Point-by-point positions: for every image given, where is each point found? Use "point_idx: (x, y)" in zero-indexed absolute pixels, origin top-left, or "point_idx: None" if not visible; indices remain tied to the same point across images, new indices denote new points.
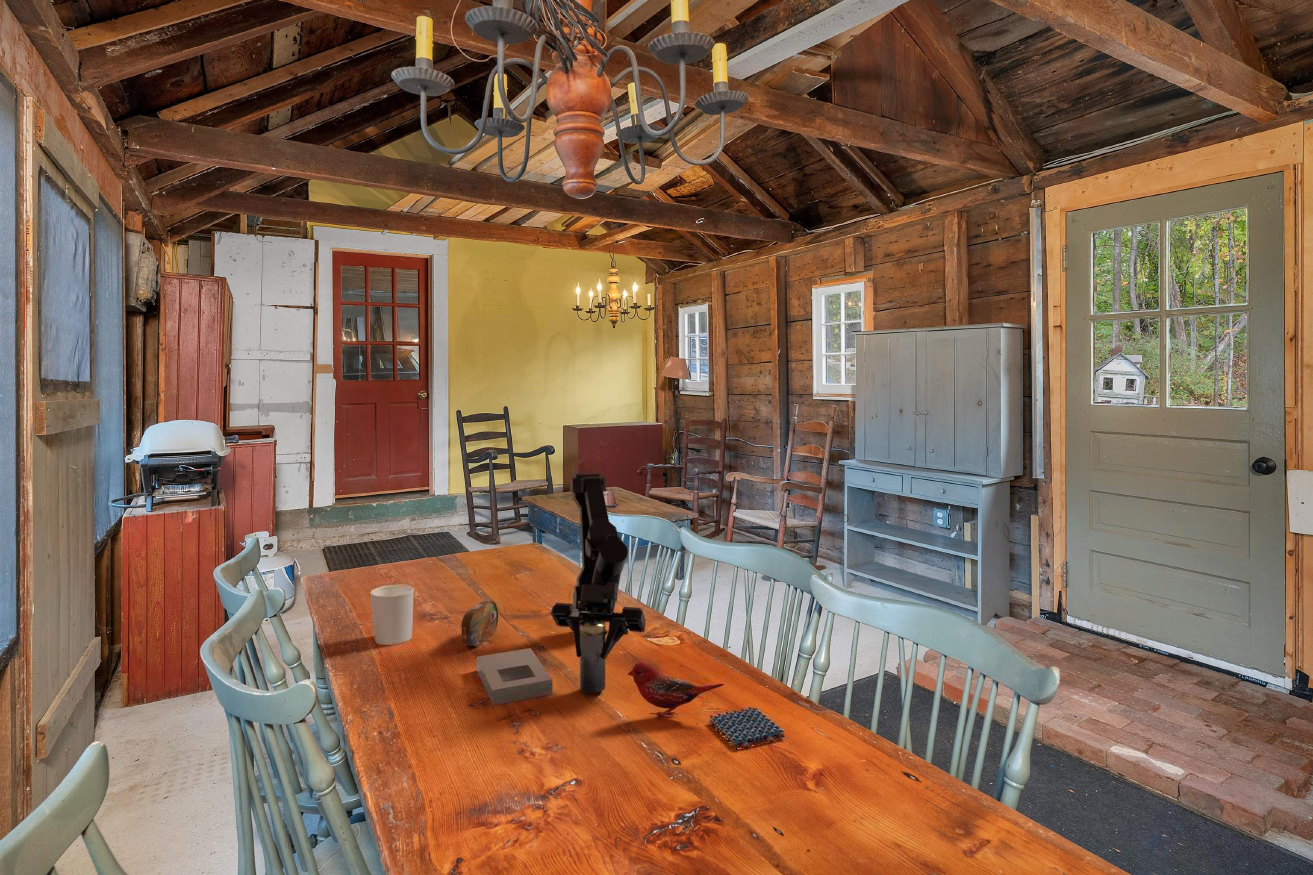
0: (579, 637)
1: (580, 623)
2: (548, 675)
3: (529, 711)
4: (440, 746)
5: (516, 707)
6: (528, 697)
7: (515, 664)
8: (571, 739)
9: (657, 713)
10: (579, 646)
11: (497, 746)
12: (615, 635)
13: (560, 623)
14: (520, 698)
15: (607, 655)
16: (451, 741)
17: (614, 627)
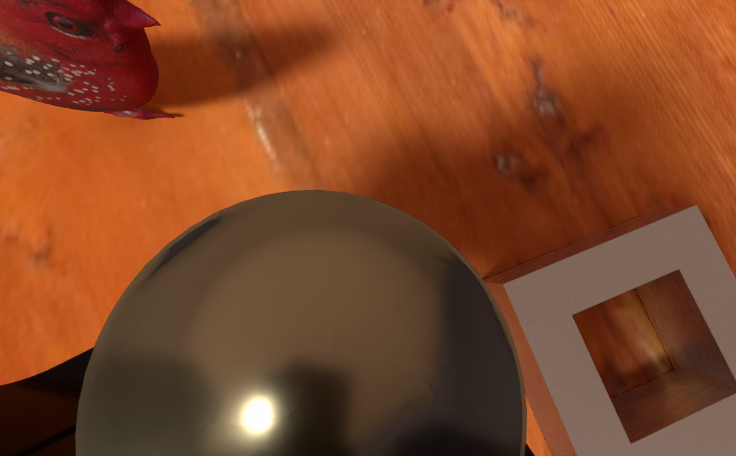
0: None
1: (508, 401)
2: (523, 321)
3: (526, 171)
4: (694, 17)
5: (569, 198)
6: (549, 253)
7: (683, 448)
8: (393, 20)
9: (149, 112)
10: None
11: (565, 6)
12: None
13: None
14: (572, 243)
15: None
16: (678, 36)
17: (18, 401)
